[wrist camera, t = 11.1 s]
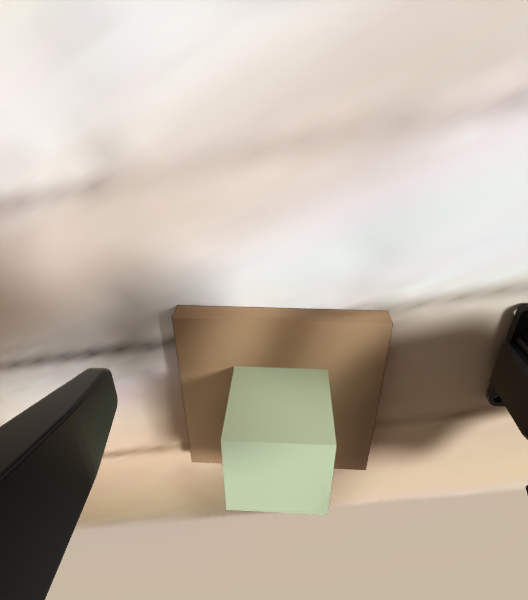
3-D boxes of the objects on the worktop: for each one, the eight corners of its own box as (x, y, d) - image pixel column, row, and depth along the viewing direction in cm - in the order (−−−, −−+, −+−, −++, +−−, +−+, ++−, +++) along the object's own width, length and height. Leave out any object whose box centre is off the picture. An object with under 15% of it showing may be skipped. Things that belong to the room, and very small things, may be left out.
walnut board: (388, 311, 22) (393, 324, 21) (362, 454, 27) (365, 469, 26) (177, 305, 22) (171, 317, 21) (195, 446, 28) (191, 462, 27)
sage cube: (327, 369, 22) (336, 445, 18) (321, 434, 25) (327, 515, 20) (234, 366, 22) (220, 440, 18) (237, 431, 25) (226, 509, 21)
